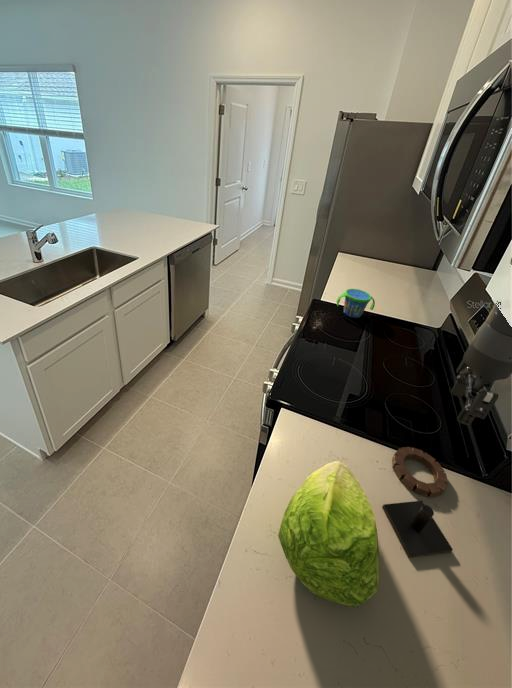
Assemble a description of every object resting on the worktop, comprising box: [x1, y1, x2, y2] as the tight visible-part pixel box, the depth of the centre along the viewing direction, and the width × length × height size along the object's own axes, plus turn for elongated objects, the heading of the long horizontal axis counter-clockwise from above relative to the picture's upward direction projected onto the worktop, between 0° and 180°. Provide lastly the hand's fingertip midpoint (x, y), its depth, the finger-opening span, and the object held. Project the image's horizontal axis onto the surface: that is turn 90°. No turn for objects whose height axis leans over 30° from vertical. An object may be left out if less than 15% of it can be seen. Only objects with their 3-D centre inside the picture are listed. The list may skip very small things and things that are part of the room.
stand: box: [381, 500, 454, 558], centre depth 61 cm, size 9×9×7 cm
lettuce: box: [277, 460, 380, 608], centre depth 58 cm, size 17×24×14 cm
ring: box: [391, 446, 449, 498], centre depth 73 cm, size 11×11×2 cm
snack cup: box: [336, 288, 376, 319], centre depth 134 cm, size 16×10×10 cm
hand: (458, 408), depth 66 cm, fingers open, 8 cm apart
